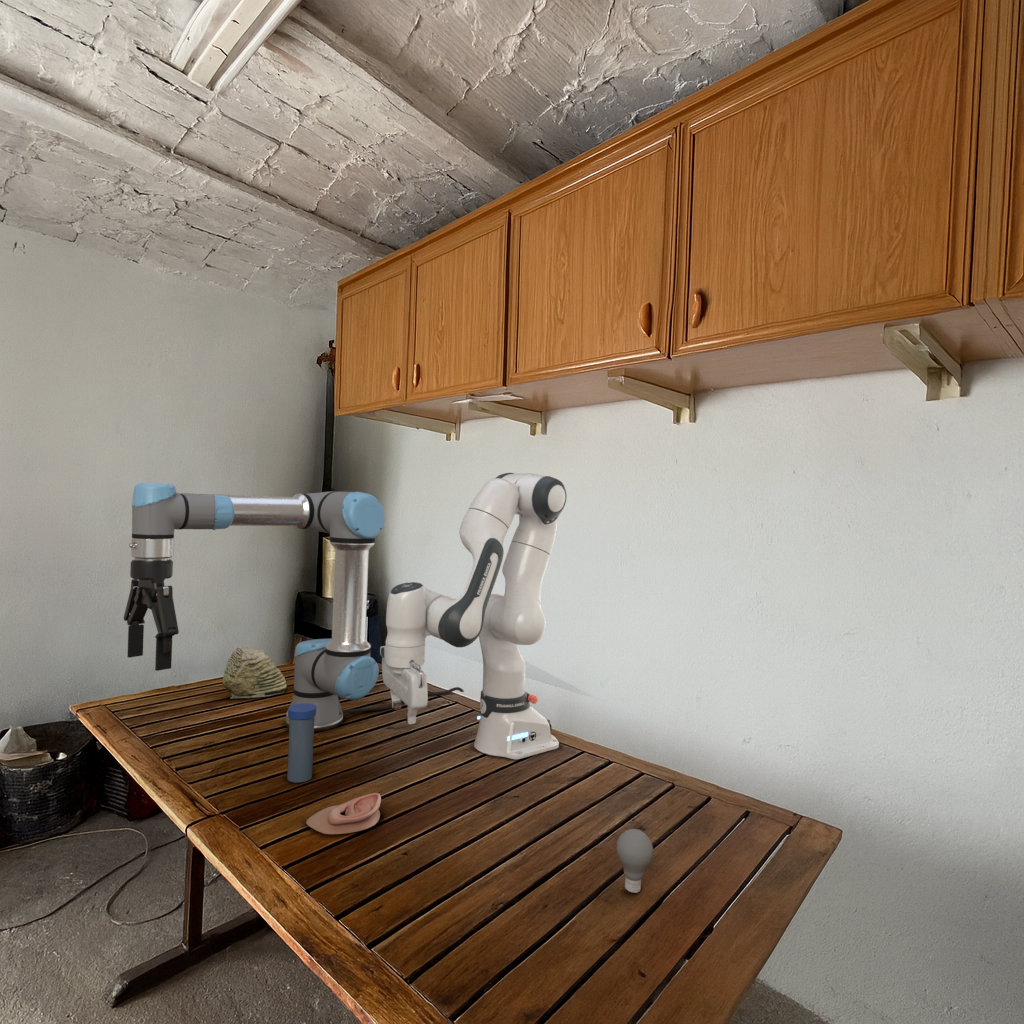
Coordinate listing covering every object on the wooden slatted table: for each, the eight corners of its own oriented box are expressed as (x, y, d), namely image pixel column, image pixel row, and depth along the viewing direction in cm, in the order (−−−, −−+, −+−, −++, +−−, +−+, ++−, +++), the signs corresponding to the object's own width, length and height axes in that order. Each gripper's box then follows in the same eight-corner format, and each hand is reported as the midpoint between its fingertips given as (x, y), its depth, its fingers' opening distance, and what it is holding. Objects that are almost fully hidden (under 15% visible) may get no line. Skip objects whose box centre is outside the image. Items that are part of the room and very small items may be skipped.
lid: (296, 721, 138) (296, 713, 138) (282, 714, 142) (283, 706, 142) (321, 715, 142) (321, 708, 142) (307, 708, 146) (307, 701, 146)
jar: (294, 784, 139) (297, 715, 138) (282, 776, 142) (285, 709, 142) (316, 777, 143) (319, 709, 142) (304, 770, 146) (307, 704, 146)
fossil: (218, 695, 195) (220, 647, 195) (278, 685, 208) (279, 640, 207) (228, 703, 189) (230, 653, 188) (289, 692, 201) (290, 645, 201)
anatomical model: (298, 809, 120) (327, 783, 131) (297, 830, 120) (327, 802, 131) (363, 819, 117) (388, 791, 128) (362, 840, 117) (387, 811, 128)
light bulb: (610, 879, 108) (613, 822, 108) (644, 879, 109) (647, 822, 109) (619, 902, 102) (622, 840, 102) (655, 901, 103) (658, 840, 103)
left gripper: (108, 554, 134) (104, 654, 134) (159, 565, 118) (155, 678, 119) (146, 552, 140) (143, 648, 140) (199, 563, 124) (195, 671, 124)
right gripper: (436, 666, 135) (434, 729, 136) (403, 643, 153) (401, 699, 154) (407, 669, 132) (406, 734, 133) (377, 645, 150) (376, 703, 150)
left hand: (148, 662), depth 129 cm, fingers open, 13 cm apart
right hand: (403, 715), depth 143 cm, fingers open, 8 cm apart
